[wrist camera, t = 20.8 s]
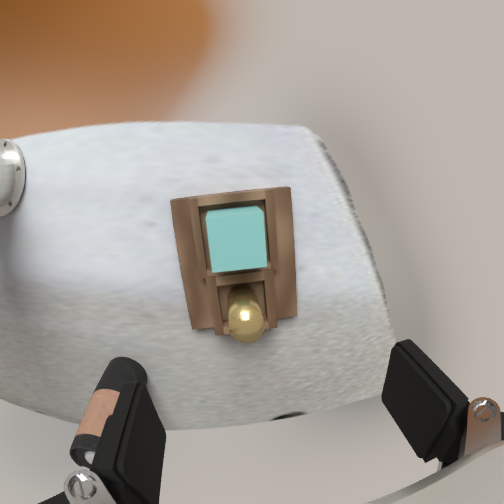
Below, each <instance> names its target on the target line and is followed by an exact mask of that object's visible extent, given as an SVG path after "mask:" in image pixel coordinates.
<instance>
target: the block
mask: <svg viewBox="0 0 504 504" xmlns="http://www.w3.org/2000/svg"><path fill="white" fill-rule="evenodd" d="M206 225H207V234H208V243H209V251H210V259H211V267H212V273H215V272H224V271H234V270H243V269H252V268H261V267H267V255H266V241H265V227H264V213H263V211H262V210H261V209H260V208H259V207H258V206H256V205H255V206H245V207H234V208H224V209H215V210H208V212H207V215H206Z"/></svg>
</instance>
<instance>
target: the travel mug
mask: <svg viewBox="0 0 504 504" xmlns="http://www.w3.org/2000/svg"><path fill="white" fill-rule="evenodd" d="M146 381H147V375H146V372H145V370H144V368H143V367H142V366H141V365H140V364H139V363H138V362H136V361H134V360H132V359H130V358H127V357H117V358H114V359H113V360H111V362H110V363H109V365H108V366H107V368H106V370H105V372H104V374H103V375H102V377H101V379H100V381H99V383H98V385H97V387H96V389H95V391H94V393H93V395H92V397H91V399H90V401H89V404H88V406H87V408H86V411H85V413H84V415H83V418H82V420H81V423H80V425H79V428H78V430H77V433H76V435H75V438H74V441H73V443H72V446H71V448H70V456H71V458H72V459H73V460H74V462H75V463H76V464H77V465H79V466H85V467H87V468H89V469H90V468H91V464H92V461H93V458H94V455H95V452H96V449H97V445H98V442H99V439H100V436H101V433H102V431H103V428H104V425H105V422H106V419H107V417H108V416H109V415H112V414H113V411H114V408H115V405H116V402H117V400H118V397H119V394H120V391H121V389H122V386H123V384H124V382H140V383H141V385H142V386H146Z"/></svg>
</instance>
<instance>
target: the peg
mask: <svg viewBox="0 0 504 504" xmlns="http://www.w3.org/2000/svg"><path fill="white" fill-rule="evenodd" d="M227 307H228V322H229V332H230V334H231V336H232V337H233V338H234V339H235V340H237V341H239V342H242V343H250V342H254V341H256V340H258V339H259V338H260V337H261V336H262V335H263V333H264V331H265V323H264V319H263V316H262V312H261V309H260V306H259V302H258V299H257V295H256V292H255V290H254V289H253V288H252V287H250V286H248V285H245V284H239V285H236V286H234V287H232V288H231V289H230V290H229V292H228V294H227Z"/></svg>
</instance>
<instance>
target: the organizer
mask: <svg viewBox="0 0 504 504" xmlns="http://www.w3.org/2000/svg"><path fill="white" fill-rule="evenodd" d="M170 203H171V211H172V218H173V225H174V231H175V238H176V244H177V251H178V257H179V262H180V268H181V274H182V279H183V285H184V290H185V295H186V301H187V306H188V311H189V316H190V320H191V325H192V329H201V328H210V327H214V330H215V335H225V334H230V332H229V322H228V307H227V294H228V292H229V290H230V289H231V288H232V287H234V286H236V285H239V284H245V285H248V286H250V287H252V288H253V289H254V290H255V292H256V295H257V299H258V302H259V306H260V309H261V312H262V316H263V319H264V323H265V329H271V328H277V319H281V318H287V317H294V316H297V296H296V272H295V251H294V233H293V217H292V203H291V189H290V187H276V188H265V189H254V190H244V191H235V192H226V193H217V194H209V195H201V196H193V197H185V198H178V199H172V200H171V201H170ZM255 205H256V206H258V207H259V208H260V209H261V210H262V211H263V213H264V227H265V241H266V255H267V267H261V268H252V269H243V270H234V271H224V272H215V273H212V267H211V259H210V251H209V243H208V234H207V225H206V215H207V212H208V210H215V209H224V208H234V207H245V206H255Z"/></svg>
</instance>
